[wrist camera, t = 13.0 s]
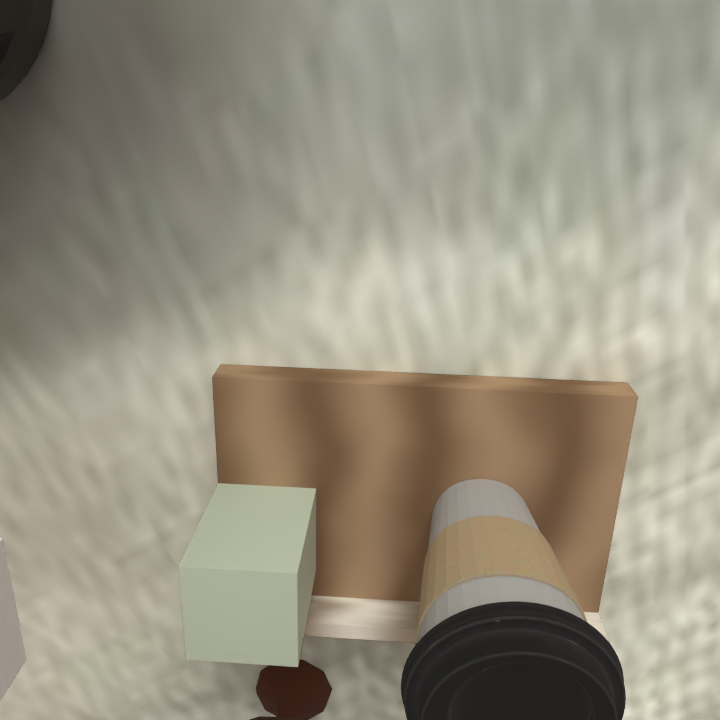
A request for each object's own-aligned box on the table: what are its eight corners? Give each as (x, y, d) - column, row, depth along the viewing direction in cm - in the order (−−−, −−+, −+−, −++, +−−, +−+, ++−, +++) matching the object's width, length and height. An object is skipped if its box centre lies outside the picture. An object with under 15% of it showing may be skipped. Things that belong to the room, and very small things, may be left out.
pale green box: (222, 566, 44) (186, 662, 37) (218, 483, 42) (178, 566, 35) (316, 572, 44) (298, 669, 36) (316, 488, 42) (297, 573, 34)
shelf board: (232, 584, 47) (215, 632, 43) (220, 364, 41) (200, 394, 37) (587, 606, 46) (606, 657, 42) (627, 382, 40) (653, 416, 36)
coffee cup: (432, 598, 44) (444, 830, 30) (379, 476, 41) (366, 671, 27) (577, 558, 42) (662, 785, 28) (533, 428, 39) (604, 610, 25)
